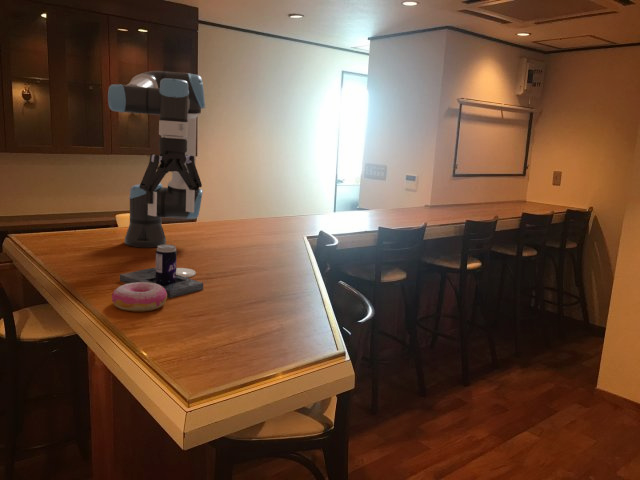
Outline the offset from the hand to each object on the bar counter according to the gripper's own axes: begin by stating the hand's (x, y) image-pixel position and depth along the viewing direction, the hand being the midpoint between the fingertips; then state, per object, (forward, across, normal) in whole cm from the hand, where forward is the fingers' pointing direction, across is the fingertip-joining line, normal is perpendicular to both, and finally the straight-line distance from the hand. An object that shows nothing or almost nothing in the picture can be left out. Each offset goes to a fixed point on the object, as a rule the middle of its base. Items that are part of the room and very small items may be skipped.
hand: (171, 213), depth 148 cm
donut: (+22, -16, -8) cm, 28 cm away
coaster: (+21, +11, +8) cm, 25 cm away
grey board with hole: (+21, -1, +2) cm, 21 cm away
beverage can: (+22, -1, 0) cm, 22 cm away
